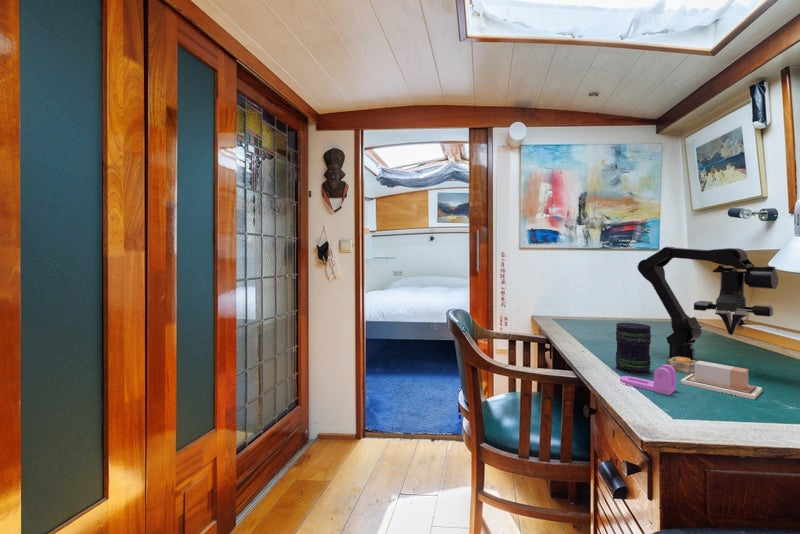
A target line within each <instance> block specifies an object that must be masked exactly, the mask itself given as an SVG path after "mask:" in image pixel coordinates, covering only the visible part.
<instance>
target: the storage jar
mask: <svg viewBox="0 0 800 534" xmlns="http://www.w3.org/2000/svg"><path fill="white" fill-rule="evenodd" d="M615 326H616V329H615V340H616V352H615V365H616V366H615V369H616V370H617V369H618V370H620V371H623V372H622V373H624V372H627V373H626V374H628V373H632V374H631V375H634V374H648V375H650V374H651V363H652V361H651V355H650V352H651V351H650V346H651V344H652V340H651V339H652V334H651V329H652V327H651V326H652V325H648V324H643V323H637V322H617V323H616V324H615ZM618 370H617V371H618ZM620 371H619V372H620ZM649 373H650V374H649Z"/></svg>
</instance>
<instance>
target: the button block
mask: <svg viewBox="0 0 800 534" xmlns="http://www.w3.org/2000/svg"><path fill="white" fill-rule="evenodd" d="M698 361H699V360H691V363H690V364H688V363H682V362H677V361H675V357H673V358H671V359H669V360H667V359H666V365H670V366H672V367H673V368H674V369H675V371H676V372H678V373H684V374H686V375H687V374H688V375H690V374H694V373H695V363H696V362H698Z"/></svg>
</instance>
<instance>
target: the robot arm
mask: <svg viewBox="0 0 800 534" xmlns="http://www.w3.org/2000/svg"><path fill="white" fill-rule="evenodd" d="M673 259H685V260H695V261H696V260H697V261H705V262H711V263H714V264H717V265H718V266H717V267H716V268H715V269H713V270H712V273H720V289H719V295H718V297H717V298H716V300H715V303H713V301H707V300H698V301H695V302H694V303H693V310H694V311H703V312H705V311H707V310H715V315H717V316H719V317H720V318H721V319H722V321H723V323H724V325H725V328H726V330H727V333H728V335H729V336H734V334H735V331H736V329H737V328H738V325H739V324H740V322H741V320H742V319H743V318H745V317H747V316H749V313H750V314H753V315H754V316H757V317H772V316H773V315H774V308H773V306H771V305H762V304H761V305H760V304H755V305H752V306H747V299H746V296H745V294H744V293H745V285H746V286H748V288H750V289H765V290H766V289H767V290H769V289H770V290H775V289H777V287H778V284H779V276H778V273H777V270H776V266H755V264H753V262H752V261H751V260H750V259H749V258H748V254H747V252H746V251H745V250H744V249H742V248H737V247H736V248H735V247H734V248H733V247H728V248H726V247H725V248H717V249H715V248H714V249H699V248H683V247H682V248H681V247H674V246H665V247H662V249H660V250H659V251H657V252H655V253H654V254H652V255H650V256H648V257H647V258H646V259H642V260H640V261H639V262H638V263H637V266H636V267H637V268H636V269H637V270H638V272H639V273H640V274H641V276H642V277H643V278H644V279H645V280H646V281H648V282H649V283H650V284H651V286H652V287H653V289H654V291H655V293H656V295H657V296H658V298H659V301H660V302H661V303H662V305H663V307H664V308H665V310H666V312H667V314H668V315H669V317H670V320H671V323H670V324H671V329H672V331H673V332H672V333H671V334H670V335H668V336H667V337H666V338H665V339H666V341H667V344H668V345H669V348H668V349H669V351H668V355H669V356H668V358H667V359H666V361H667V360H669V359H671V358H673V357H686V358H690V359H691V360H694V361H696V360H695V359H696V356H695V355H696V349H695V348H694V344H695V342H696V341H697V340H698V339H699V338H701V336H702V334H703V332H702V328H703V327H702V326H701V325H700V324H699V322H698V319H697V317H695V316H693V317H690V316H689V315H688V314H686V312H685V310H684V308H683V307H682V305H681V304H680V303H681V302H679V300H678V299H677V297H676V294H674V291H673V290H672V288H671V287H670V285H669V283H668V281H667V280H666V272H665V269H664V267H666V266H667V265H668V264H669V263H670V262H671V261H672V260H673ZM725 266H727V267H725ZM740 270H741V271H740ZM742 270H745V271H742ZM732 313H733V314H732Z"/></svg>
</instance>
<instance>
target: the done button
mask: <svg viewBox="0 0 800 534" xmlns="http://www.w3.org/2000/svg"><path fill="white" fill-rule="evenodd" d="M675 361H677V362H682V363H688V364H690V363H691V359H690V358H686V357H675Z"/></svg>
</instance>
